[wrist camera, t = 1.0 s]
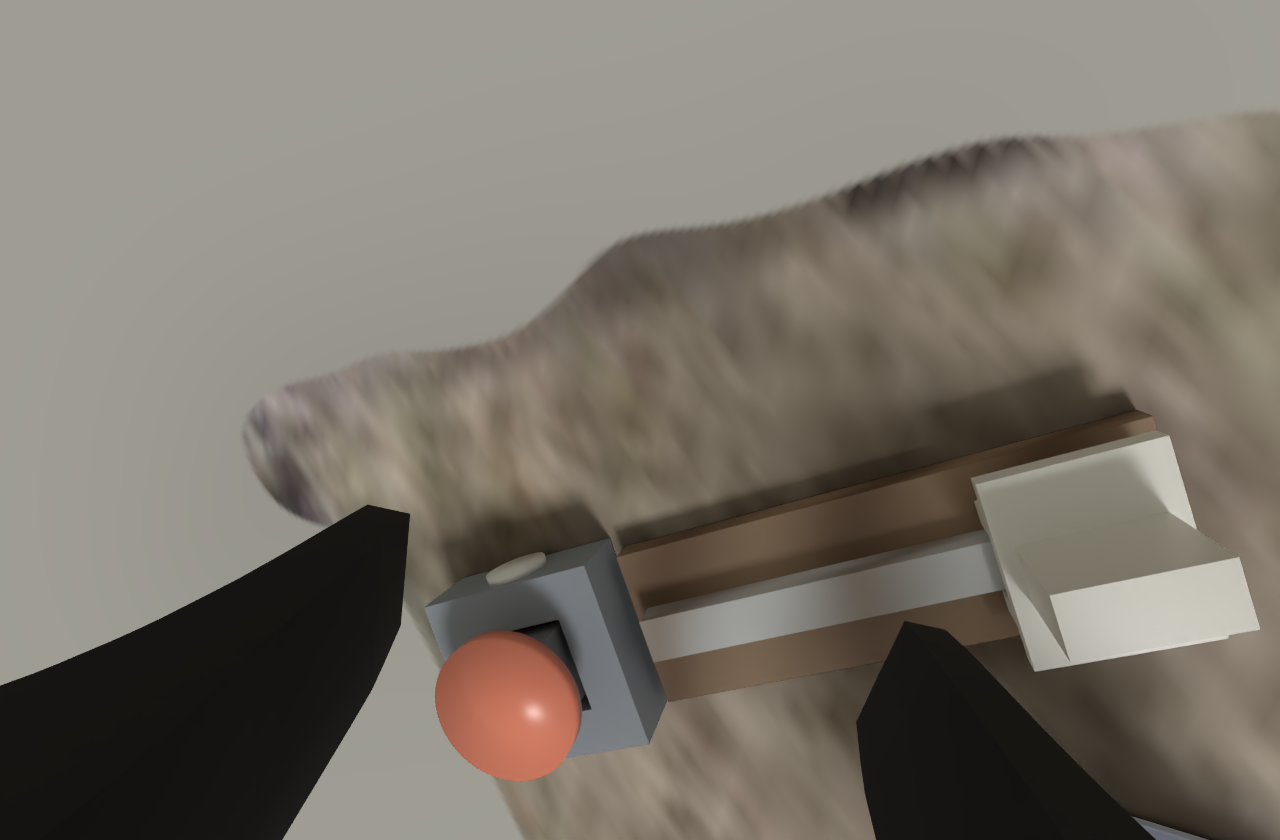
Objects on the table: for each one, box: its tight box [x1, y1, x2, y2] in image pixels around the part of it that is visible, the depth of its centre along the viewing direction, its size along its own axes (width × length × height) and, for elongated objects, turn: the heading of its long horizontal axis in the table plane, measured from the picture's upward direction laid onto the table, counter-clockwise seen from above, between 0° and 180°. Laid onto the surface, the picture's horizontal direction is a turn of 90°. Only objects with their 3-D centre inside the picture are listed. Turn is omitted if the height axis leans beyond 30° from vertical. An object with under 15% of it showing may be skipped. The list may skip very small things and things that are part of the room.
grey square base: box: [424, 538, 667, 758], centre depth 28 cm, size 7×7×3 cm
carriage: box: [971, 430, 1260, 672], centre depth 19 cm, size 5×6×6 cm
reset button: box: [435, 621, 586, 781], centre depth 25 cm, size 5×5×3 cm
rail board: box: [616, 410, 1158, 702], centre depth 24 cm, size 18×6×2 cm, turn 110°
